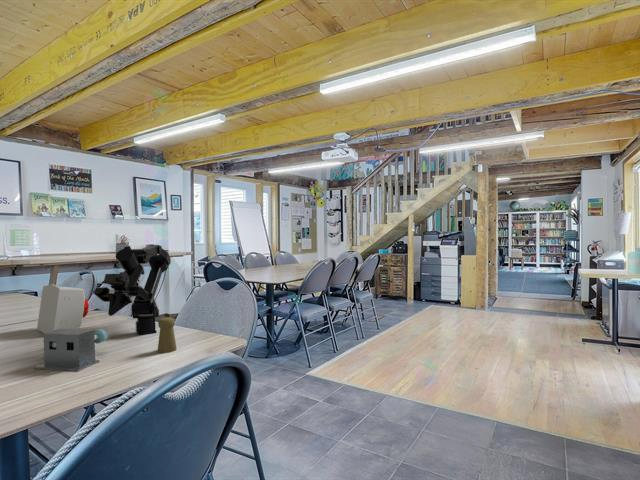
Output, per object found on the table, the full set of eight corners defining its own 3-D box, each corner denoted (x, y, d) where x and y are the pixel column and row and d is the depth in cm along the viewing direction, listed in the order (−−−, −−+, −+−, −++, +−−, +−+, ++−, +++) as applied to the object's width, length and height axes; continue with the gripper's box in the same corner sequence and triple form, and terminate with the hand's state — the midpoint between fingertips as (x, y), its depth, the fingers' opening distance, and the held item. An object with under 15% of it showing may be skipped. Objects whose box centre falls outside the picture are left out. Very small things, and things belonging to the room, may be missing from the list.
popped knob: (95, 341, 123) (95, 328, 123) (107, 341, 122) (107, 328, 122) (76, 348, 115) (76, 334, 115) (89, 349, 115) (88, 334, 115)
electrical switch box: (92, 333, 159) (98, 286, 162) (52, 336, 147) (59, 285, 149) (75, 329, 167) (81, 284, 169) (36, 331, 155) (43, 283, 157)
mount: (57, 359, 118) (56, 328, 118) (99, 361, 116) (98, 329, 116) (34, 368, 110) (33, 335, 110) (78, 371, 108) (77, 336, 108)
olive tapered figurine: (180, 348, 129) (179, 316, 128) (168, 353, 123) (167, 320, 123) (166, 346, 130) (165, 315, 130) (153, 352, 125) (152, 319, 125)
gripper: (94, 265, 134) (71, 303, 124) (139, 263, 129) (118, 302, 119) (114, 282, 142) (93, 319, 132) (156, 281, 137) (138, 319, 127)
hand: (110, 315), depth 127 cm, fingers closed
